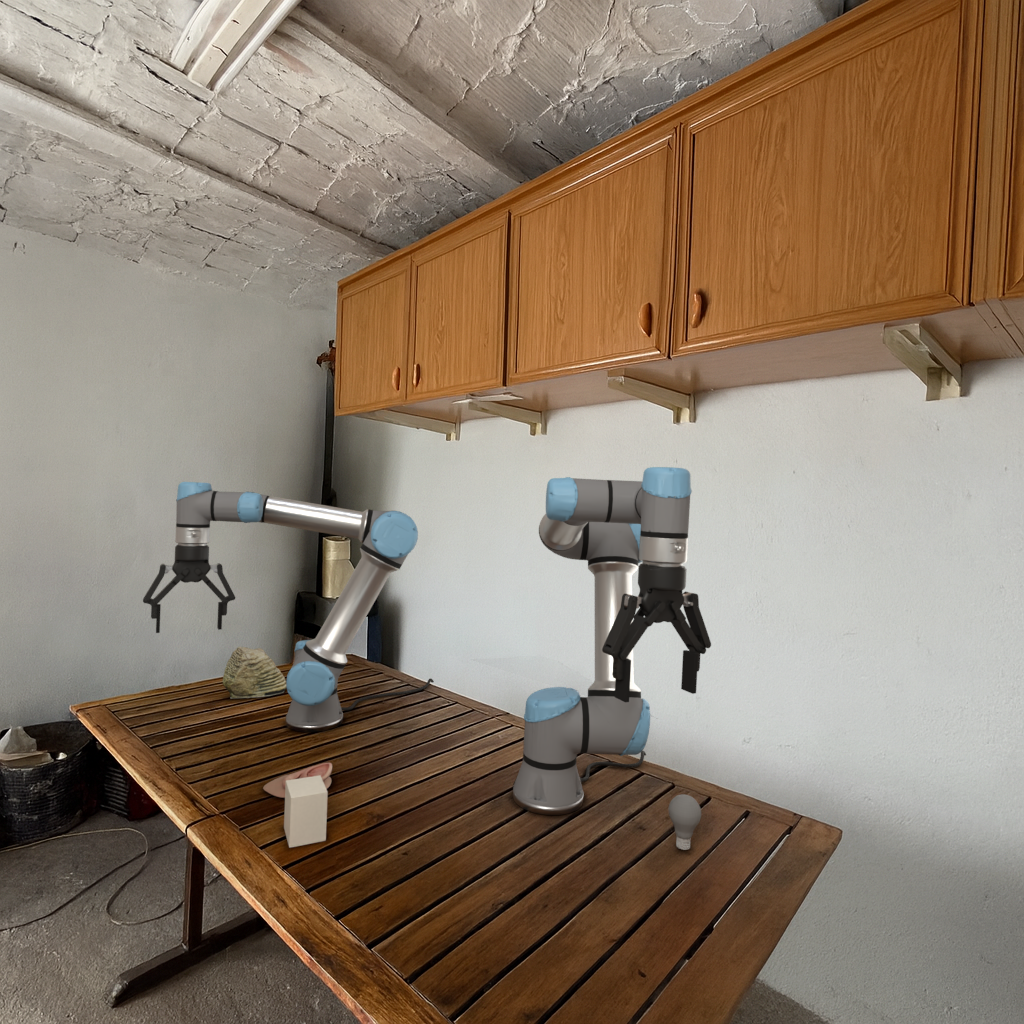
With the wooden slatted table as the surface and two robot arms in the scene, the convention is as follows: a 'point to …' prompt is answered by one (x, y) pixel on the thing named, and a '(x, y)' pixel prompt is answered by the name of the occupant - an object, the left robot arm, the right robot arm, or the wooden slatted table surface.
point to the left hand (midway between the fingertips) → (189, 630)
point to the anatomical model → (279, 784)
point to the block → (305, 811)
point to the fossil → (252, 674)
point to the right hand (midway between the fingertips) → (656, 695)
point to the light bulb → (684, 818)
